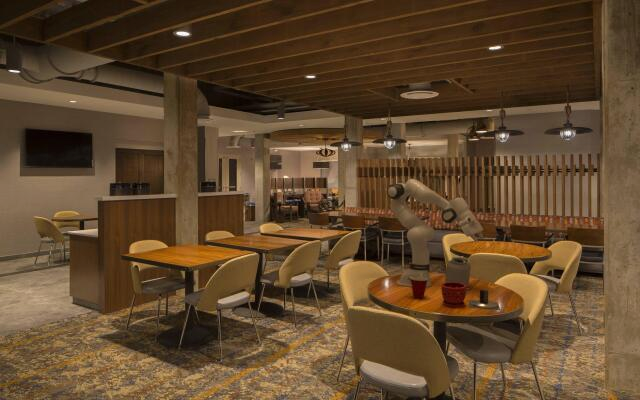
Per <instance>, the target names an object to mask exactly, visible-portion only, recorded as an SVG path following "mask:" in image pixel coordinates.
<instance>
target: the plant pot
mask: <svg viewBox="0 0 640 400" xmlns="http://www.w3.org/2000/svg"><path fill="white" fill-rule="evenodd" d="M450 286H451V287H450ZM456 287H458V288H456ZM466 294H467V287H466V285H465V284H462V283H458V282H442V284H441V296H442V299H443V301H442V304H443V305H444V306H446V307H449V308H462V307H463V306H465V304H466V303H465V302H464V301H465V299H466V296H467V295H466Z"/></svg>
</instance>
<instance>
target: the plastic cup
mask: <svg viewBox="0 0 640 400" xmlns="http://www.w3.org/2000/svg"><path fill="white" fill-rule="evenodd" d="M410 280H411V285H412V287H411V290H412V296H413V299H415V300H423V299H424V297H425V292H426V288H427V287H426V284H427V281H428V279H427V278H422V277H410Z"/></svg>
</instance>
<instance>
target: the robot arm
mask: <svg viewBox="0 0 640 400" xmlns="http://www.w3.org/2000/svg"><path fill="white" fill-rule="evenodd" d="M386 195H387V197H388V198H389V199H392V200H391V202H390V205H389V207H390V210H391V211H392V213H393V214H394V216H395V217H396V219H397V220H398V222H399V223H401V225H402V226H403V227H404V228H406V229H408V231H407V233H406V239H407V240H408V242H409V243H410V247H411V253H412V255H411V257H412V258H411V259H412V260H411V262H409V263H408V267H409V268H408V269H406V270H404V272H402V273H401V275H400V278H399V279H398V280H397V282H396V284H397V285H398V286H400V287H401V286H404V287H410V288H412V285H411V280H410V277H422V278H427V279H428V281H427V284H426V288H428V287H430V286H432V281H431V275H430V272H431V264H430V250H429V249H428V246H427V242H430V241H432V239H434V237H435V234H436V232H435V229H434V228H433V227H432V226H430V225H428V224H427V223H426V222H425V221H423V220H422V219H421V218H419V216H417V214H415V212H414V211H413V210H412V209H411V208H410V206H409V205H408V204H407V202H408V201H409V199H410V197H412V198H413V199H415V201H417V202H419V203H421V204H424V205H425V204H426V205H427V204H428V205H436V206H438V207H439V208H440V209H443V210H442V212H441V213H440V214H441V216H440V217H441V220H442V222H444V223H445V224H452V223H456V222H458V226H459V227H460V228H461V230H462V232H463V233H464V234H463V235H465V236H466V237H467V238H469V237H470V238H471V240H472V241H473V242H474V243H478V242H479V240H478V238H479V239H480V240H481V241H482V240H484V239H485V237H484V236H483V233H482V232H483V231H484V228H483V227H482V225H481V223H480V222H479V221H478V220H477V218H476V217H475V215H474V213H473V212H472V211H471V210H470V207H469V205H468V203H467V202H466V200H465V199H464V198H463V196H457V197H453V198H451V199H450V200H448V199H446V198H444V197H443V196H441V195H440V194H438V193H437V192H435V191H433V190H432V189H431V188H429V187H428V186H427V185H425V184H424V183H422V182H421V181H419V180H418V179H415V178H409V179H408V180H407V181H406V182H398V183H392V184H389V186H388V187H387V188H386ZM476 235H478V236H479V237H478V238H476Z"/></svg>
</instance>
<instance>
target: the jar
mask: <svg viewBox="0 0 640 400" xmlns="http://www.w3.org/2000/svg"><path fill="white" fill-rule="evenodd" d="M471 269H472V268H471V264H470V263H469V262H468V261H467V259H465V258H462V257H453V258H452V259H450V260H448V261H447V263H446V269H445V270H446V271H445V280H444V281H445V282H444V283H446V282H458V283H462V284H465V285H466V288H468V287H469V284H470V277H471V276H470V275H471ZM450 288H451V286H450ZM456 288H458V287H456Z"/></svg>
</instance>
